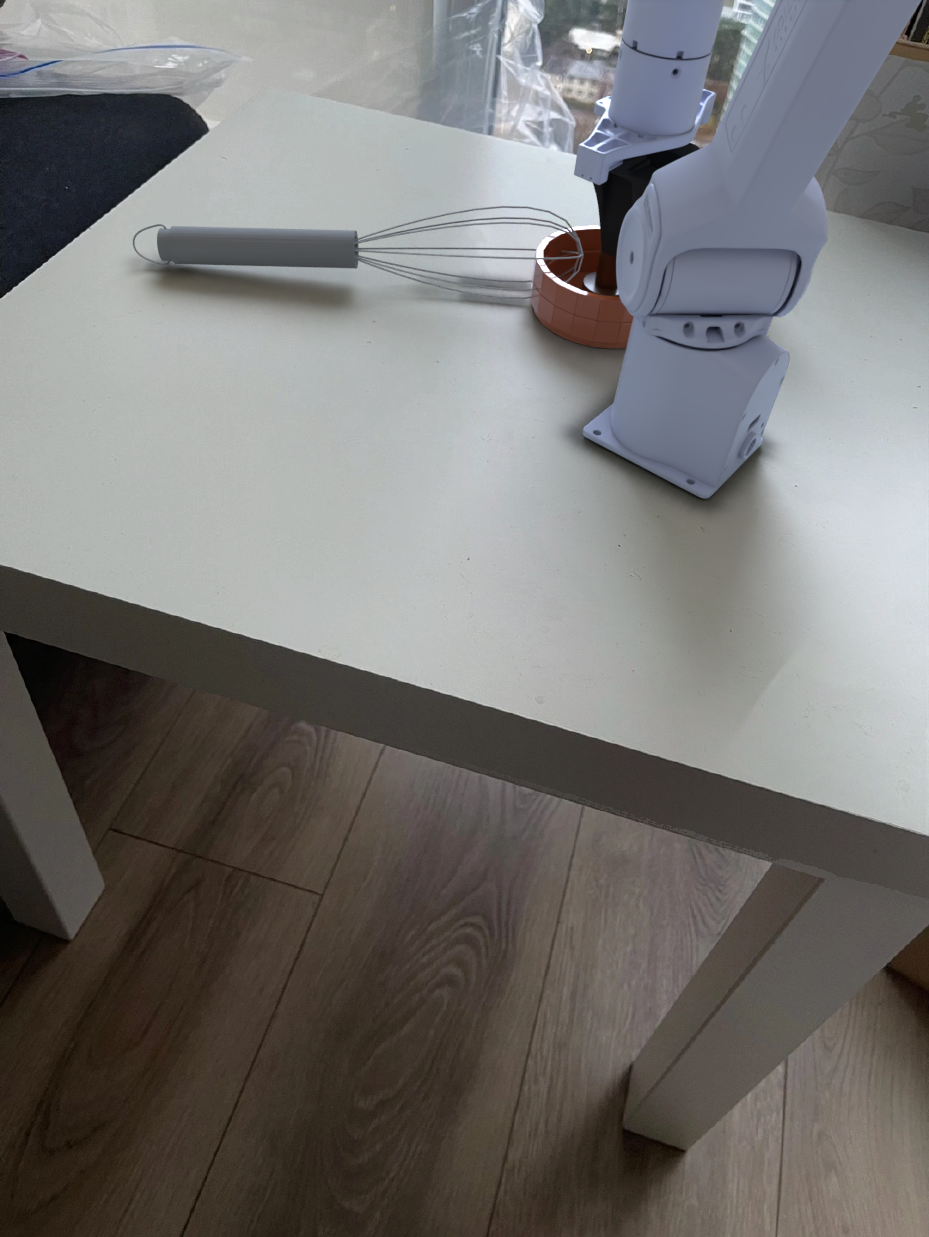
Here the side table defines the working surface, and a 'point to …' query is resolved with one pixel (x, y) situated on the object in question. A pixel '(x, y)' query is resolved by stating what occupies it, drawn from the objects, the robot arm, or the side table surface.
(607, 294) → the coffee tamper
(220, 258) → the kitchen whisk
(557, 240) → the bowl
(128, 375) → the side table surface
